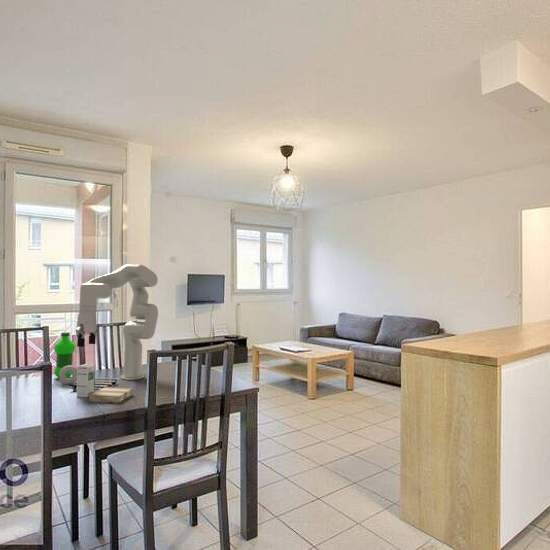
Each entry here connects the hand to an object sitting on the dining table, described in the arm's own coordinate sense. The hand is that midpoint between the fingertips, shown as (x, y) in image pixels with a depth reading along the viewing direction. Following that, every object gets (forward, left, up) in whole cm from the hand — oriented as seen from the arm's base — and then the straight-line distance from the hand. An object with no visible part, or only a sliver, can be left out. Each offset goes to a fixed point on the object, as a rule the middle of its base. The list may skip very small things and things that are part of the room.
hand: (86, 345), depth 199 cm
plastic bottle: (-30, -30, -24) cm, 49 cm away
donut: (-17, -19, -24) cm, 35 cm away
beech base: (+2, +14, -24) cm, 28 cm away
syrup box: (0, 0, -24) cm, 24 cm away
